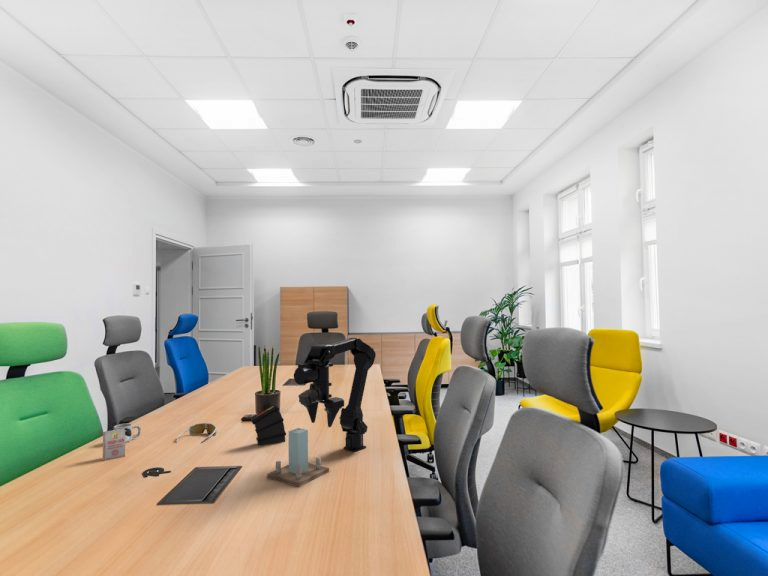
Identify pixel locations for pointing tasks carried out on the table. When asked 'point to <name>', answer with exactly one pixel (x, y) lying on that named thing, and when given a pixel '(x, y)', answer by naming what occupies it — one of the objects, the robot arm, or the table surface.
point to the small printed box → (113, 444)
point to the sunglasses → (201, 429)
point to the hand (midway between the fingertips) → (321, 424)
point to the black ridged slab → (269, 426)
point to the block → (298, 450)
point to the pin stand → (298, 473)
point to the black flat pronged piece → (154, 472)
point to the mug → (128, 431)
